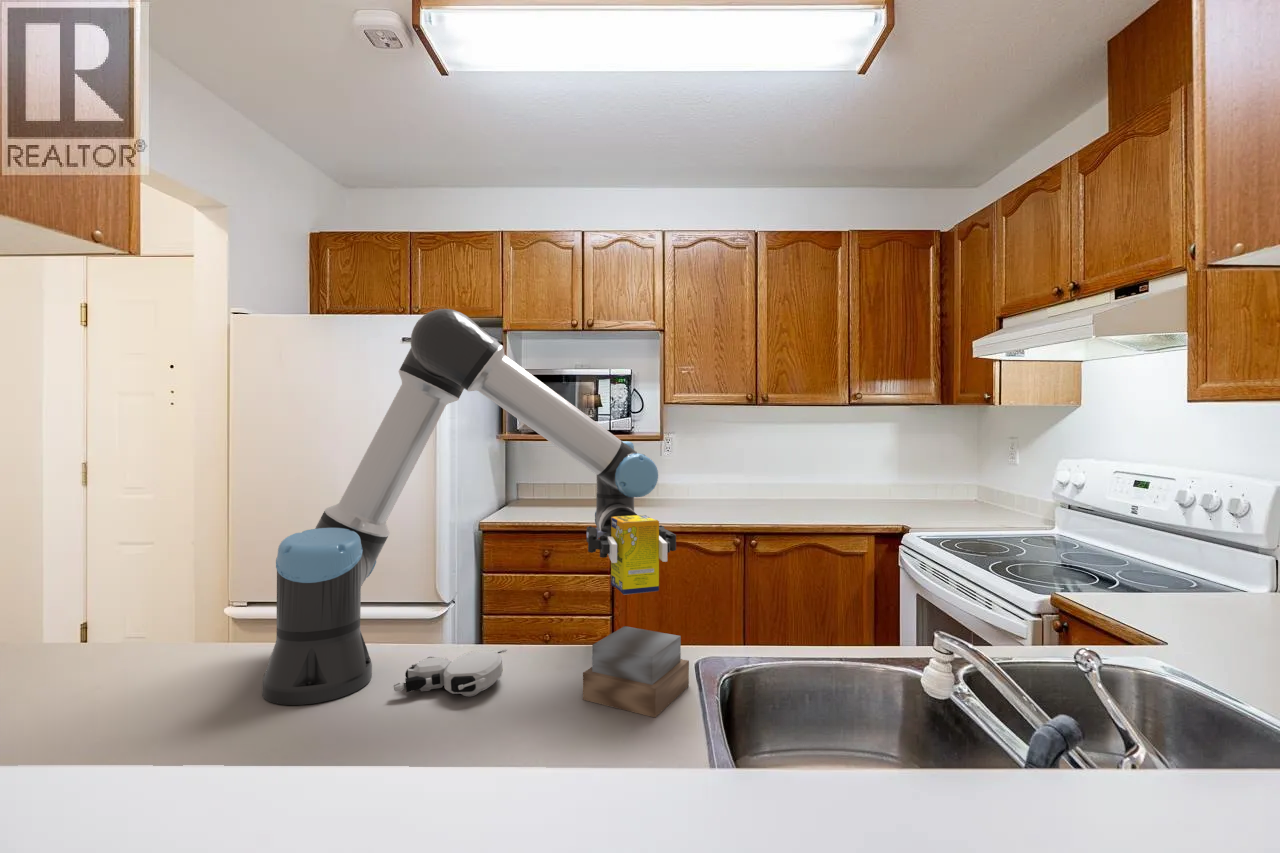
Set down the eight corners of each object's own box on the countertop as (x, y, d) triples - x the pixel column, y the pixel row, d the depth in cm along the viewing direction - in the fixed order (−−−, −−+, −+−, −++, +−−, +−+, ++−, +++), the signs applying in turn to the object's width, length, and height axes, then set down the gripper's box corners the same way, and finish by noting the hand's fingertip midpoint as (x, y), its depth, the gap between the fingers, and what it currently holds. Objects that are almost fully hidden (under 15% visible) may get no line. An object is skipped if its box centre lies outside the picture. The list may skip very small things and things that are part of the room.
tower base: (582, 699, 92) (583, 645, 92) (621, 671, 103) (622, 623, 103) (655, 717, 86) (655, 660, 86) (688, 686, 97) (689, 635, 97)
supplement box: (610, 585, 97) (610, 516, 97) (645, 582, 100) (645, 514, 100) (622, 595, 92) (622, 521, 92) (659, 591, 94) (659, 519, 94)
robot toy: (389, 710, 90) (490, 705, 90) (387, 679, 90) (488, 674, 90) (422, 676, 102) (511, 672, 102) (420, 649, 103) (510, 644, 102)
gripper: (673, 547, 115) (705, 576, 92) (566, 549, 112) (572, 580, 89) (673, 506, 115) (705, 526, 92) (567, 507, 112) (572, 528, 89)
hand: (639, 552), depth 91 cm, fingers closed on supplement box, 7 cm apart
